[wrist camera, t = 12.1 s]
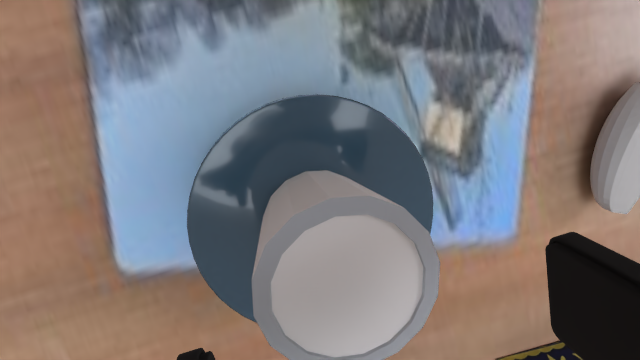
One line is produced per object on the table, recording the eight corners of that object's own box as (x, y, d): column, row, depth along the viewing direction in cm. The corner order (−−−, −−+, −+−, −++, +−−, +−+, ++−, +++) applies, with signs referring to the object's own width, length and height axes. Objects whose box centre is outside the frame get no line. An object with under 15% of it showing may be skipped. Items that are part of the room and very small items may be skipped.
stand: (172, 122, 24) (147, 135, 18) (373, 70, 25) (411, 65, 19) (236, 302, 27) (232, 363, 21) (408, 248, 29) (450, 290, 23)
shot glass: (234, 175, 19) (226, 225, 12) (368, 143, 20) (429, 174, 13) (268, 297, 21) (277, 398, 14) (389, 263, 22) (452, 343, 15)
